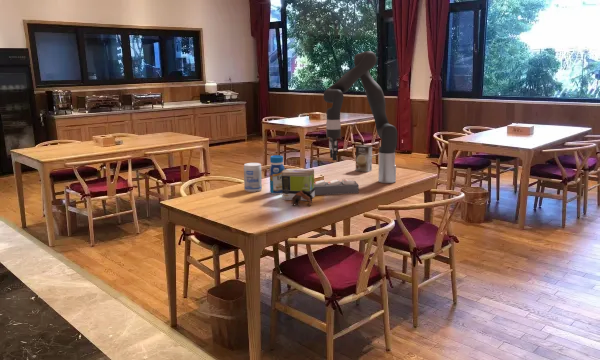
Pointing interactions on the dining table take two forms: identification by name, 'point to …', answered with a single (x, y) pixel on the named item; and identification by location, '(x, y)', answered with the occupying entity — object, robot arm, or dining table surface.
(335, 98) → the robot arm
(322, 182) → the rocker
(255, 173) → the supplement tub
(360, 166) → the coffee box
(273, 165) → the beverage bottle
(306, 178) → the tea box
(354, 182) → the plate
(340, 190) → the strip housing
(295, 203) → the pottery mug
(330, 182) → the rocker
